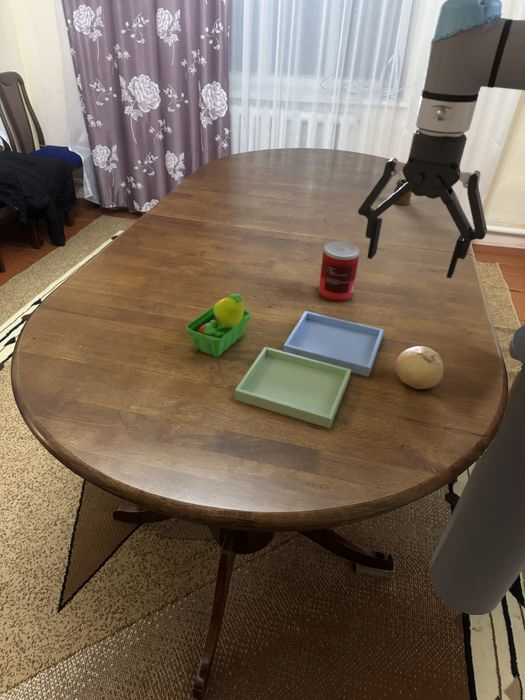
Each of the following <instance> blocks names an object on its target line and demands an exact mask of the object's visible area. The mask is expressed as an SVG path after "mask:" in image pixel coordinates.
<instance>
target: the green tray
mask: <svg viewBox="0 0 525 700" xmlns="http://www.w3.org/2000/svg"><path fill="white" fill-rule="evenodd" d="M351 373H352V372H351V369H347V368H344V367H340V366H336V365H332V364H329V363H325V362H321V361H317V360H313V359H310V358H306V357H302V356H298V355H294V354H291V353H287V352H283V350H279V349H276V348H271V347H269V346H264V347H263V349H262V350H261V352H260V353H259V354H258V356H257V357H256V359H254V362H253V363H252V365H251V366H250V367H249V369H248V370H247V372H246V373H245V375H244V376H243V377H242V379H241V381H240V382H239V384H238V385H237V386H236V388H235V389H234V400H235V401H237V402H241V403H244V404H248V405H251V406H254V407H258V408H261V409H264V410H268V411H270V412H274V413H277V414H281V415H283V416H287V417H290V418H294V419H297V420H299V421H304V422H307V423H310V424H313V425H317V426H321V427H323V428H326V429H331V426H332V424H333V421H334V419H335V417H336V414H337V412H338V409H339V406H340V404H341V402H342V399H343V396H344V393H345V391H346V389H347V386H348V383H349V381H350V378H351Z"/></svg>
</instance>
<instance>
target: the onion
mask: <svg viewBox="0 0 525 700" xmlns="http://www.w3.org/2000/svg"><path fill="white" fill-rule="evenodd" d="M444 369H445V368H444V361H443V359H442V357H441V356H440V354H439V353H438V352H437V351H435V350H433V348H431V347H428V346H423V345H416V346H412V347H409V348H407V349H405V350H403V351H402V352H401V353H400V354H399V355H398V357H397V360H396V362H395V372H396V374H397V376H398V378H399V379H400V380H401V382H402V383H404V384H405V385H407V386H408V387H410V388H414V389H416V390H427V389H431V388H433V387H435V386H437V385H438V384H439V383H440V382H441V380H442V378H443V376H444V371H445V370H444Z"/></svg>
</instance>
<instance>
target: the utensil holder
mask: <svg viewBox="0 0 525 700" xmlns="http://www.w3.org/2000/svg"><path fill="white" fill-rule="evenodd" d="M402 173H403V171H400V172H399V173H398V174H397V175H399V176H398V177H399V178H398V179H397V180H396V182H395V186H394V188H393V191H392V192H393V193H392V195H393V194H394V193H395V192H396V191H397V190H399V189H400V188H401V187H402V186H403V185H405V184H406V183H407V181H406V179H405V178H404V179H402V176H401V175H402ZM412 194H413V193H412V192H411V190H410V191H409V192H408V193H407V194H405V195H404V196H403V197H401V198H400V199H399V200H398V201H397V202H395V203H394V204H395V205H400V206H407V205H409V203H410V202H411V197H412Z"/></svg>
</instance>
